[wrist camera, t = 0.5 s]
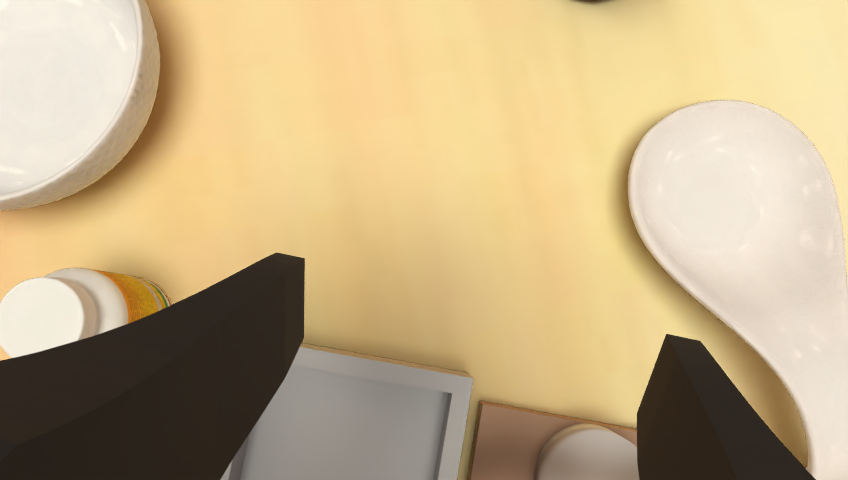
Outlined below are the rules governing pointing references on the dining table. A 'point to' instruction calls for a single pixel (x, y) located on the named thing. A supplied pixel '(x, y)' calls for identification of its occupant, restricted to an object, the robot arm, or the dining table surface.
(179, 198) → the dining table surface
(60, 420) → the robot arm
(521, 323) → the dining table surface
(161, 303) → the supplement bottle
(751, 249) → the spoon rest
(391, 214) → the dining table surface
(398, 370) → the tray
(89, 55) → the cereal bowl
